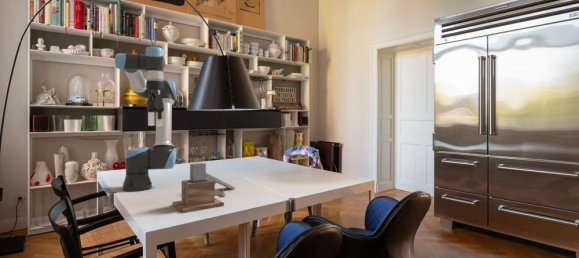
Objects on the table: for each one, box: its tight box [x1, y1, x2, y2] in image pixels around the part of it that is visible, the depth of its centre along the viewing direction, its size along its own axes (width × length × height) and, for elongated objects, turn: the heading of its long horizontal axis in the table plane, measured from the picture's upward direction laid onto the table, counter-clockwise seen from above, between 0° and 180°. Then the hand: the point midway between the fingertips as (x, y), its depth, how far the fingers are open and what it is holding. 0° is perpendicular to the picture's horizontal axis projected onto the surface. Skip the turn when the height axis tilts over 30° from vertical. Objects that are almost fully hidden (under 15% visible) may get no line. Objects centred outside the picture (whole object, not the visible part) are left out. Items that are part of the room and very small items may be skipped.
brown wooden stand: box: [172, 178, 225, 214], centre depth 151 cm, size 15×19×12 cm
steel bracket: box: [189, 162, 207, 183], centre depth 151 cm, size 4×6×14 cm, turn 127°
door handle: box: [206, 172, 236, 198], centre depth 176 cm, size 18×8×20 cm
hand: (155, 126), depth 152 cm, fingers open, 13 cm apart
